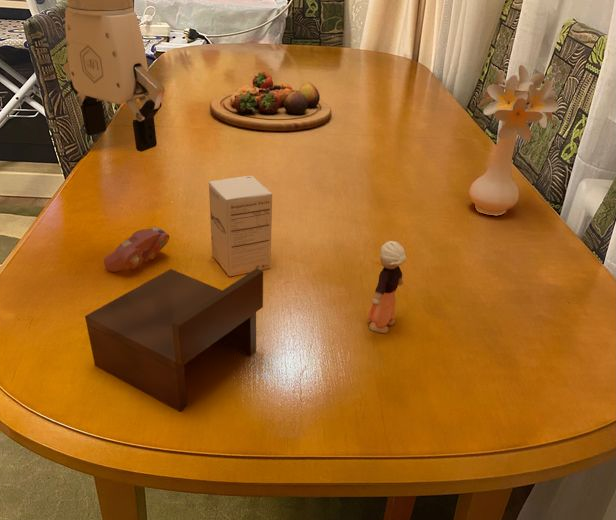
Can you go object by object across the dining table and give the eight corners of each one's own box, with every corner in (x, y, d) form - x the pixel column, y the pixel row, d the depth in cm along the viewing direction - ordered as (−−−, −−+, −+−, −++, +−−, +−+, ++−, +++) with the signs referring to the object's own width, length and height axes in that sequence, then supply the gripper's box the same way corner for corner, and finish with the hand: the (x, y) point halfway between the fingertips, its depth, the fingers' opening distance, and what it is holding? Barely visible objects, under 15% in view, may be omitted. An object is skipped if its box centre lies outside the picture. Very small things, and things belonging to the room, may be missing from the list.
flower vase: (464, 230, 109) (498, 83, 94) (452, 190, 124) (480, 58, 109) (537, 236, 109) (582, 89, 94) (516, 195, 124) (552, 63, 109)
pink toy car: (121, 286, 91) (131, 255, 86) (99, 266, 91) (108, 234, 86) (166, 261, 98) (178, 231, 93) (146, 242, 98) (156, 211, 93)
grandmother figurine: (374, 309, 87) (386, 228, 79) (400, 315, 86) (415, 234, 78) (358, 337, 81) (369, 253, 73) (386, 344, 80) (400, 260, 72)
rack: (94, 365, 74) (76, 278, 66) (175, 314, 83) (167, 233, 76) (187, 415, 67) (178, 326, 60) (262, 354, 77) (263, 270, 70)
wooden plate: (220, 93, 173) (219, 62, 168) (331, 101, 173) (333, 70, 168) (199, 128, 147) (197, 92, 142) (330, 136, 147) (333, 101, 142)
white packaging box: (210, 256, 97) (207, 180, 89) (253, 248, 100) (253, 173, 92) (227, 278, 92) (225, 199, 84) (272, 269, 94) (273, 191, 87)
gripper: (26, -9, 73) (56, 134, 84) (127, 9, 66) (146, 163, 77) (76, -14, 78) (98, 121, 89) (175, 2, 71) (187, 147, 82)
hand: (121, 140), depth 83 cm, fingers open, 9 cm apart
